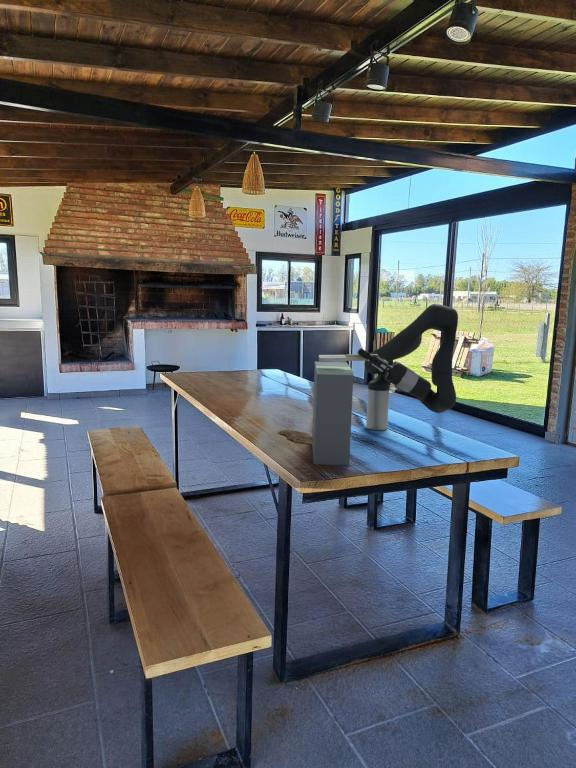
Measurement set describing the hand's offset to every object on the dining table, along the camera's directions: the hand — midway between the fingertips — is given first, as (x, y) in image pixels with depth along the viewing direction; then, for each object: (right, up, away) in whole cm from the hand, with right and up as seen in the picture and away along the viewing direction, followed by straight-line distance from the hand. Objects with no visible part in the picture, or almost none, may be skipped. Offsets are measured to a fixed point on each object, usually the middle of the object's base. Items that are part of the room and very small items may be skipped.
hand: (359, 350), depth 186 cm
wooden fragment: (-20, -33, +33) cm, 51 cm away
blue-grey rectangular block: (-9, -37, +12) cm, 40 cm away
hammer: (-4, -3, +1) cm, 5 cm away
